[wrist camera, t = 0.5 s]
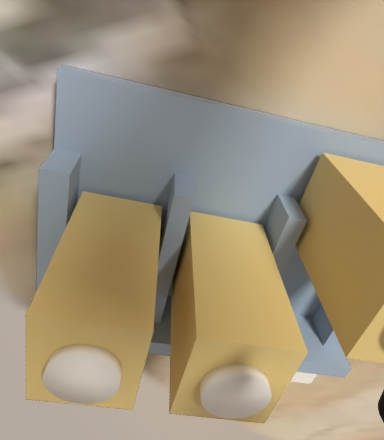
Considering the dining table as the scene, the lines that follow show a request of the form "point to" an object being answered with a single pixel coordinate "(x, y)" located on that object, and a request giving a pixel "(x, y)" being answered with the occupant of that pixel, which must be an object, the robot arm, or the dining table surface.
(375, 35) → the dining table surface
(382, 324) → the key
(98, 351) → the key
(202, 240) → the key middle
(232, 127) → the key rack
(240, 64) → the dining table surface
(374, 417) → the dining table surface
